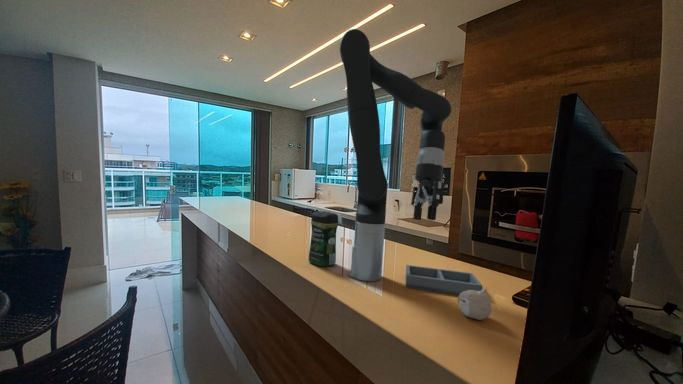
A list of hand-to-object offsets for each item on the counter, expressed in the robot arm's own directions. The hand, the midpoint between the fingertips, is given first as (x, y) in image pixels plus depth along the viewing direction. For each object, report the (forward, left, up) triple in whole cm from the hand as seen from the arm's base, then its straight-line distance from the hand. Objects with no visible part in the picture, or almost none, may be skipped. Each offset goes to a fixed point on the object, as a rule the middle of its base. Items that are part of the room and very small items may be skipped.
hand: (423, 219), depth 76 cm
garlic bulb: (+11, -14, -20) cm, 27 cm away
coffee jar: (-33, +10, -20) cm, 40 cm away
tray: (+6, +4, -20) cm, 21 cm away
